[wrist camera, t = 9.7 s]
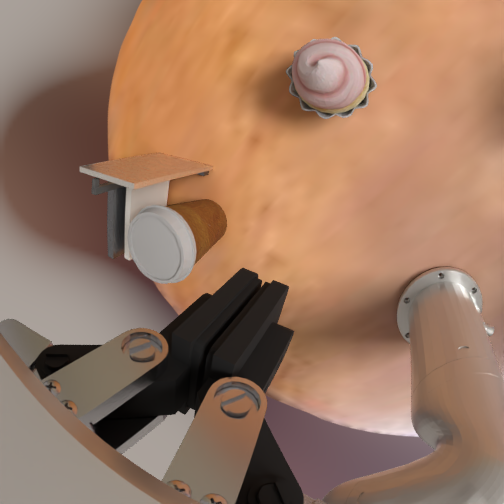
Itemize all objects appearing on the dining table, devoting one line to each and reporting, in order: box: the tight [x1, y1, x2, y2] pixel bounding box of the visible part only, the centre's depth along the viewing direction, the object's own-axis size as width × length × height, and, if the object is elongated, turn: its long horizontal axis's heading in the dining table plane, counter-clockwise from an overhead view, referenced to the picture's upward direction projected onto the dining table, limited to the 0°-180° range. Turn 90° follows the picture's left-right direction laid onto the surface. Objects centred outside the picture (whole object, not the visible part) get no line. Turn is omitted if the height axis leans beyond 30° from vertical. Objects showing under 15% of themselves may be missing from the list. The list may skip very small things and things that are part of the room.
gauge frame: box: [80, 153, 213, 259], centre depth 37 cm, size 10×15×15 cm, turn 167°
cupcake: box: [286, 37, 377, 119], centre depth 25 cm, size 9×9×10 cm
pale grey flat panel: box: [92, 178, 169, 260], centre depth 38 cm, size 1×13×14 cm, turn 167°
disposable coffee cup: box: [128, 199, 227, 284], centre depth 37 cm, size 10×10×12 cm
